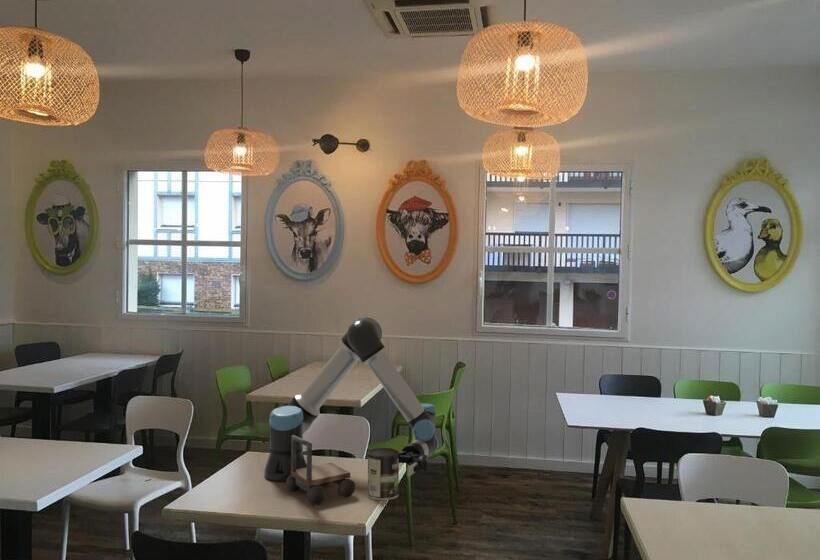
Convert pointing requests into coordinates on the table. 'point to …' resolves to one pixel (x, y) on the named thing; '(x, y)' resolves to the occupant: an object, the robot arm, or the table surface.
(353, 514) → the table surface
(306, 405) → the robot arm
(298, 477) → the trolley
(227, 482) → the table surface
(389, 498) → the coffee can
